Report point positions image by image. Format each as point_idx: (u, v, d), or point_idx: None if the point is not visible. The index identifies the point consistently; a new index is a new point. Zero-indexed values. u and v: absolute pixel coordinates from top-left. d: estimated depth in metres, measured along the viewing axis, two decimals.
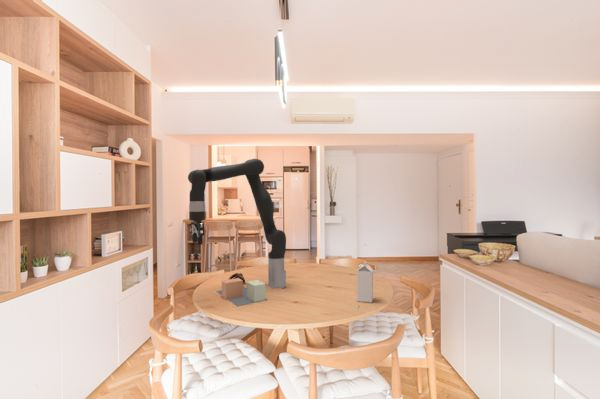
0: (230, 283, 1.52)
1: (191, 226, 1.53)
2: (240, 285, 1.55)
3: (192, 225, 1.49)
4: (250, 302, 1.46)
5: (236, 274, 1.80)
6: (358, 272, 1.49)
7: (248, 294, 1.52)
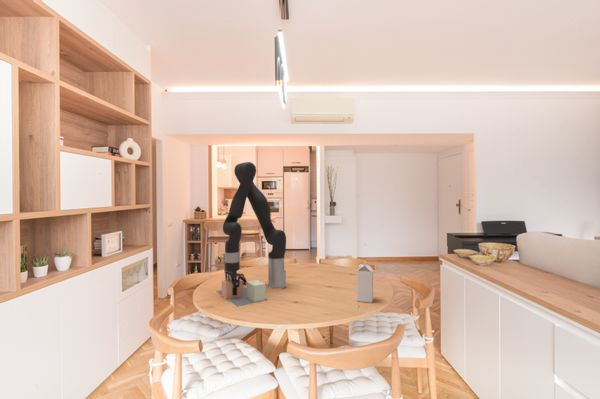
0: (230, 283, 1.52)
1: (225, 275, 1.60)
2: (240, 285, 1.55)
3: (227, 274, 1.56)
4: (250, 302, 1.46)
5: (238, 274, 1.80)
6: (358, 272, 1.49)
7: (248, 294, 1.52)
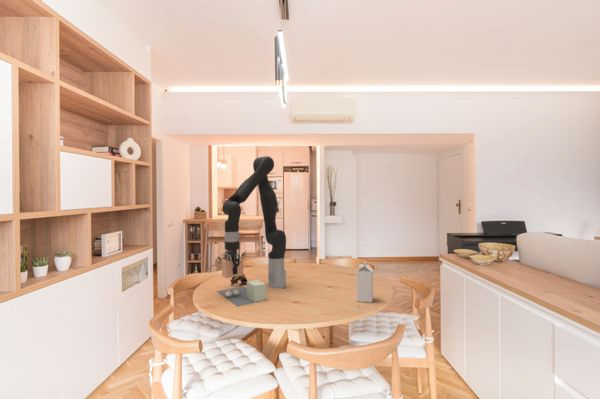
0: (230, 262, 1.52)
1: (226, 255, 1.60)
2: (240, 264, 1.55)
3: (227, 254, 1.56)
4: (250, 302, 1.46)
5: None
6: (358, 272, 1.49)
7: (248, 294, 1.52)
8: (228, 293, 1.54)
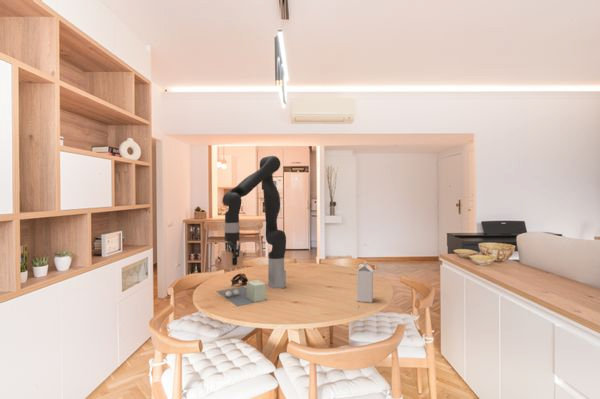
0: (230, 253, 1.52)
1: (225, 247, 1.60)
2: (240, 256, 1.55)
3: (227, 245, 1.56)
4: (250, 302, 1.46)
5: (239, 274, 1.79)
6: (358, 272, 1.49)
7: (248, 294, 1.52)
8: (228, 293, 1.54)
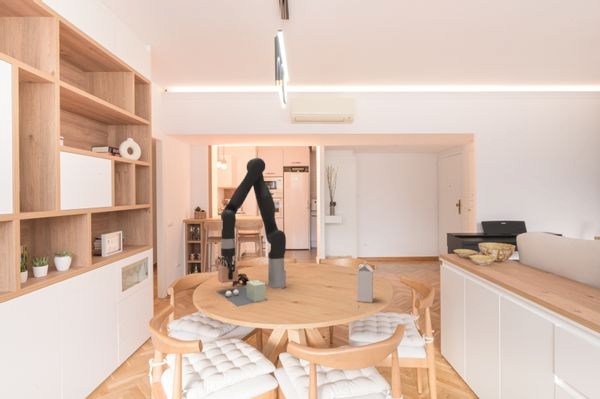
0: (226, 268, 1.59)
1: (222, 261, 1.67)
2: (235, 270, 1.62)
3: (223, 260, 1.63)
4: (250, 302, 1.46)
5: (240, 274, 1.79)
6: (358, 272, 1.49)
7: (248, 294, 1.52)
8: (228, 293, 1.54)
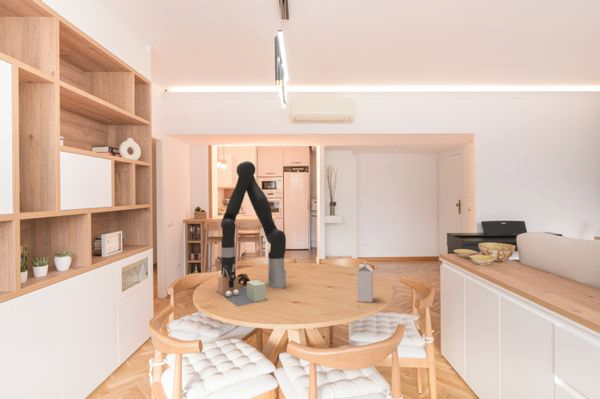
0: (226, 279, 1.60)
1: (222, 268, 1.68)
2: (236, 281, 1.63)
3: (223, 269, 1.63)
4: (250, 302, 1.46)
5: (241, 275, 1.79)
6: (358, 272, 1.49)
7: (248, 294, 1.52)
8: (228, 293, 1.54)
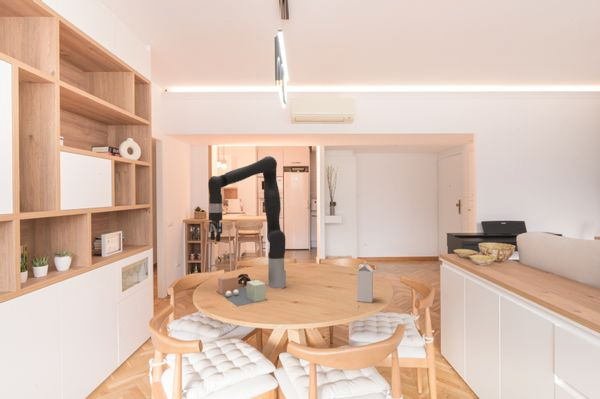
0: (226, 279, 1.60)
1: (209, 225, 1.75)
2: (236, 281, 1.63)
3: (211, 224, 1.71)
4: (250, 302, 1.46)
5: (242, 275, 1.79)
6: (358, 272, 1.49)
7: (248, 294, 1.52)
8: (228, 293, 1.54)
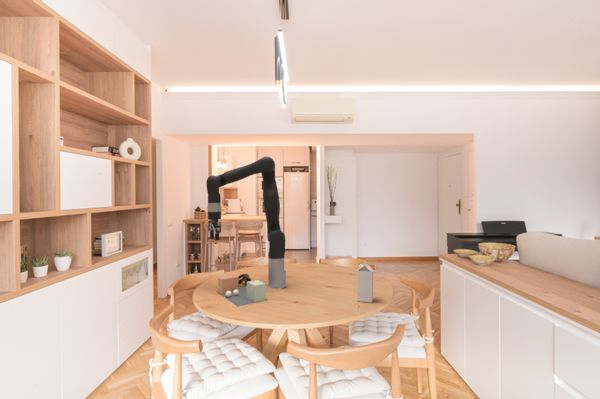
0: (226, 279, 1.60)
1: (208, 224, 1.77)
2: (236, 281, 1.63)
3: (210, 223, 1.72)
4: (250, 302, 1.46)
5: (243, 275, 1.78)
6: (358, 272, 1.49)
7: (248, 294, 1.52)
8: (228, 293, 1.54)
